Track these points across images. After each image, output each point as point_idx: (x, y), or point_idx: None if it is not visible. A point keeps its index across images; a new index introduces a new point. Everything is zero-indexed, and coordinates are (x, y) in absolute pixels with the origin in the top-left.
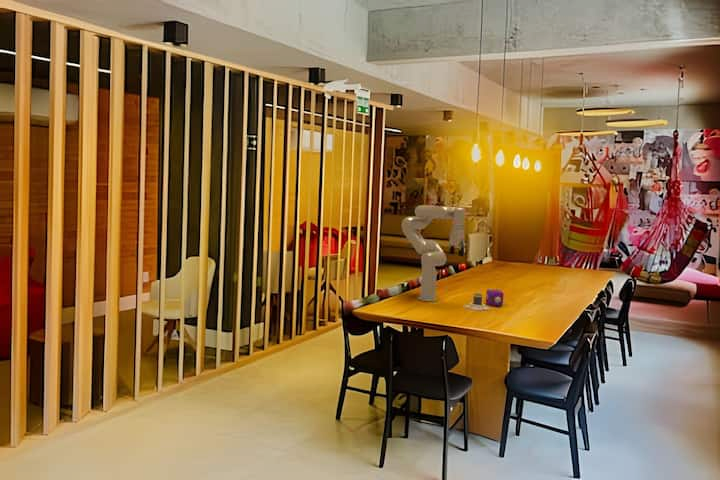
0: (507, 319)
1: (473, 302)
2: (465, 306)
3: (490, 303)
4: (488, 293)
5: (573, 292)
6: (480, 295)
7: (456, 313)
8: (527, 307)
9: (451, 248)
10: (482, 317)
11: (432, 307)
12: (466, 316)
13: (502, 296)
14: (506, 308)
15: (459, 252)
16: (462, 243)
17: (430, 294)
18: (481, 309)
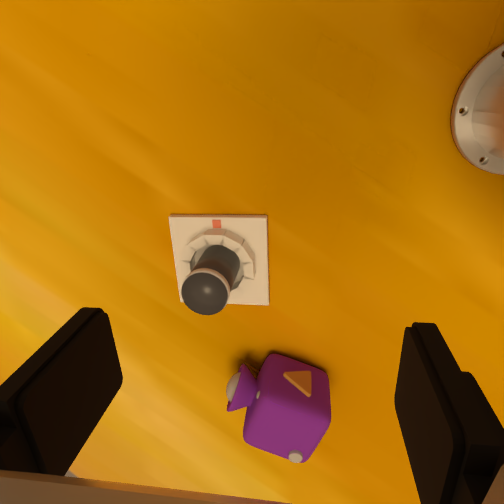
0: (10, 250)
1: (223, 255)
2: (249, 216)
3: (267, 359)
4: (285, 393)
5: None
6: (182, 292)
7: (117, 73)
8: (221, 456)
9: (445, 449)
10: (36, 163)
11: (287, 2)
12: (49, 89)
13: (244, 422)
14: (212, 379)
15: (38, 356)
16: None
17: (490, 100)
18: (173, 252)
